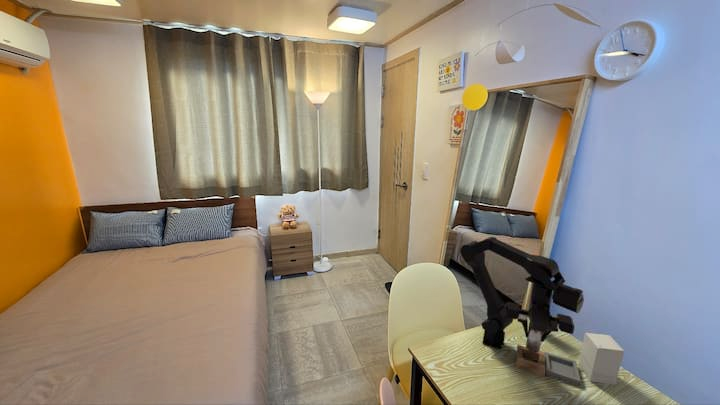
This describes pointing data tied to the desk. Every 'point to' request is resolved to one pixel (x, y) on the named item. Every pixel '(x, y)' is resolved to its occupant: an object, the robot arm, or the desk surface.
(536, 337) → the grey and red cylinder
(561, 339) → the desk surface
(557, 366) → the tray
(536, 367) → the socket block
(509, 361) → the desk surface
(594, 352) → the supplement box
